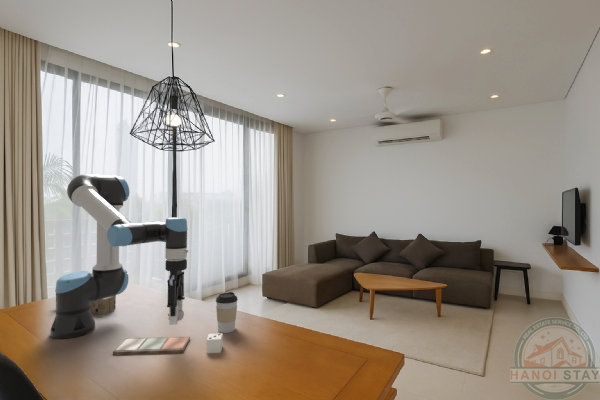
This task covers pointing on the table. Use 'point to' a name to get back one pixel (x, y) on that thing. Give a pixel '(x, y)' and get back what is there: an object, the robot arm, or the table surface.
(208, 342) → the die
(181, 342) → the game board
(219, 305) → the coffee cup
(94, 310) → the block tower
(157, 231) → the robot arm
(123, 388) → the table surface
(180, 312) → the white lumpy piece
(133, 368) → the table surface
